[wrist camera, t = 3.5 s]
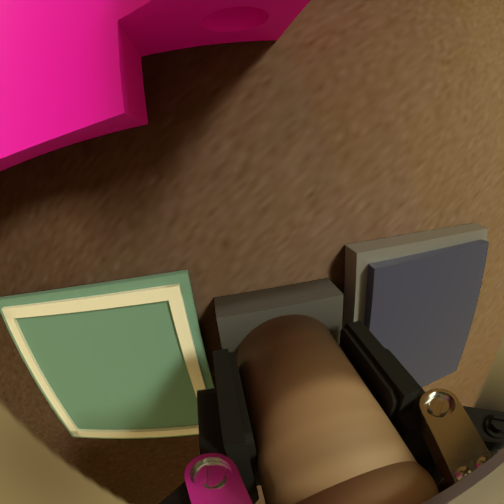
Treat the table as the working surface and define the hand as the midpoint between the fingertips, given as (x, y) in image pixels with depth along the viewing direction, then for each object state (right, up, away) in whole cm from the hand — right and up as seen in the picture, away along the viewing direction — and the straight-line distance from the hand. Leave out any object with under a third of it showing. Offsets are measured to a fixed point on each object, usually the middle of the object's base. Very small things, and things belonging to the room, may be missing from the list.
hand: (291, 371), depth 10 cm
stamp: (0, +1, +2) cm, 2 cm away
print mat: (-8, -1, +2) cm, 8 cm away
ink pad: (+7, +1, +3) cm, 7 cm away
